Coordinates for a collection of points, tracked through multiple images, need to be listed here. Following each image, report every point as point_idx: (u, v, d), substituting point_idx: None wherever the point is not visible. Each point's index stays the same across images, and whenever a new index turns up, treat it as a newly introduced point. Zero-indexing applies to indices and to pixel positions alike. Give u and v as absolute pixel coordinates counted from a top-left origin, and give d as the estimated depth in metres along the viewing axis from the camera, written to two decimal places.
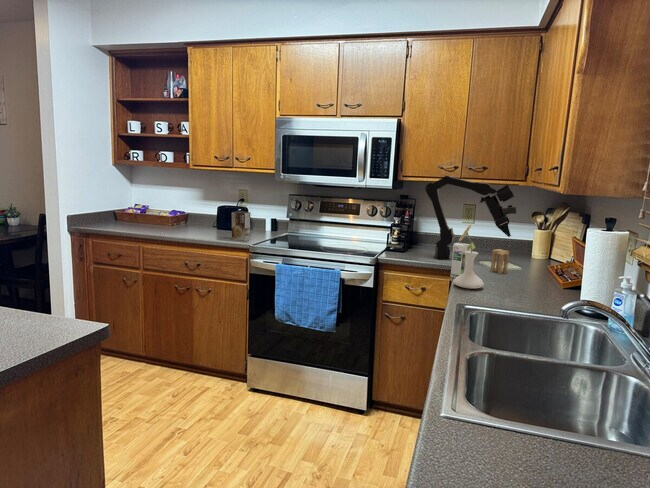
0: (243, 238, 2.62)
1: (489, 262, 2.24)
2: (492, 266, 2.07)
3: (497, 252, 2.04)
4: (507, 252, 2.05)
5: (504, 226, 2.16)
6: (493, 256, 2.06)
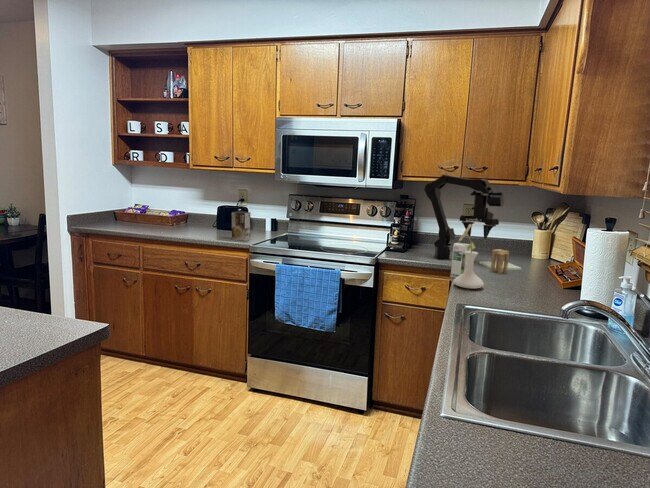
0: (243, 238, 2.62)
1: (489, 262, 2.24)
2: (492, 266, 2.07)
3: (497, 252, 2.04)
4: (507, 252, 2.05)
5: (488, 227, 2.17)
6: (493, 256, 2.06)
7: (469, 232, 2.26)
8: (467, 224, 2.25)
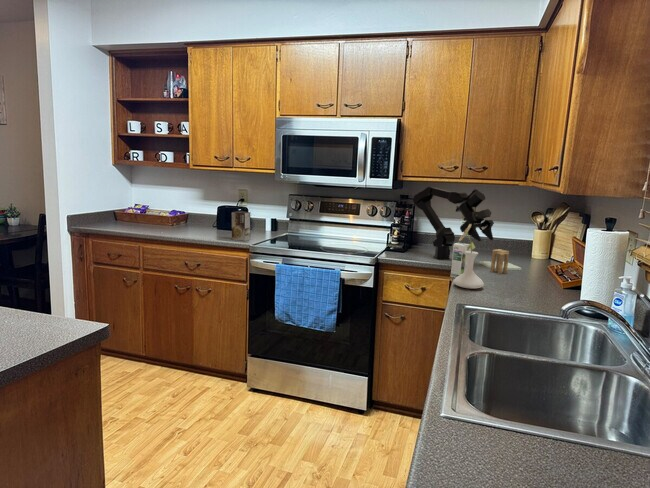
0: (243, 238, 2.62)
1: (489, 262, 2.24)
2: (492, 266, 2.07)
3: (497, 252, 2.04)
4: (507, 252, 2.05)
5: (472, 231, 2.11)
6: (493, 256, 2.06)
7: (489, 236, 2.16)
8: (483, 231, 2.19)
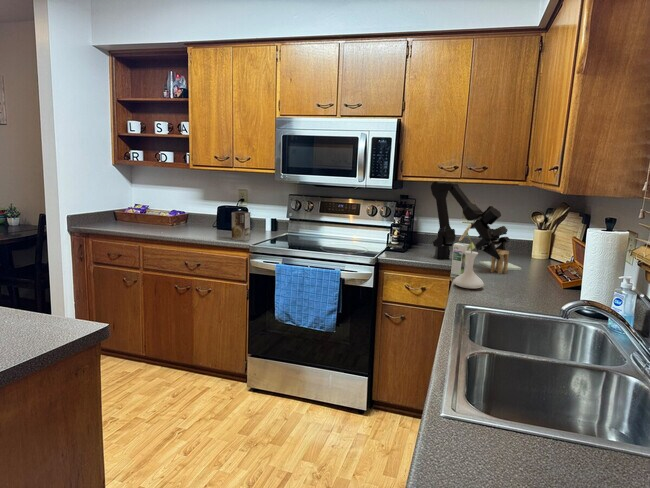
0: (243, 238, 2.62)
1: (489, 262, 2.24)
2: (492, 266, 2.07)
3: (497, 252, 2.04)
4: (507, 252, 2.05)
5: (490, 249, 2.06)
6: None
7: None
8: (497, 249, 2.11)
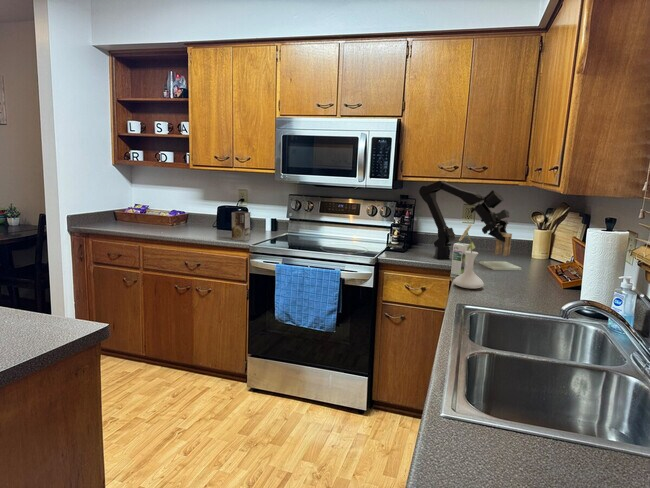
0: (243, 238, 2.62)
1: (489, 262, 2.24)
2: (497, 249, 2.13)
3: None
4: (510, 234, 2.12)
5: (496, 232, 2.11)
6: None
7: None
8: None
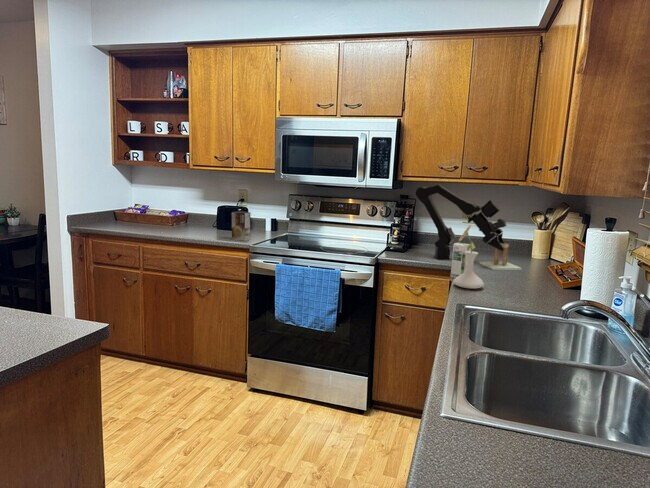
0: (243, 238, 2.62)
1: (489, 262, 2.24)
2: (495, 259, 2.18)
3: None
4: (508, 245, 2.18)
5: (494, 241, 2.15)
6: (496, 250, 2.18)
7: None
8: None
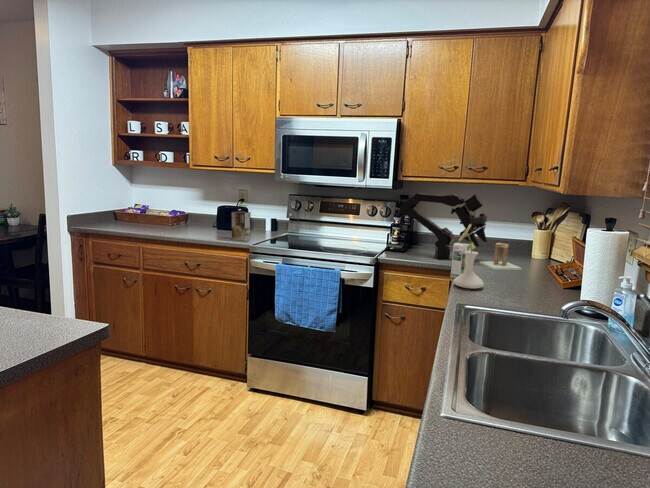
0: (243, 238, 2.62)
1: (489, 262, 2.24)
2: (495, 259, 2.18)
3: (501, 246, 2.16)
4: (508, 245, 2.18)
5: (471, 237, 2.20)
6: (496, 250, 2.18)
7: (483, 239, 2.27)
8: (477, 233, 2.29)
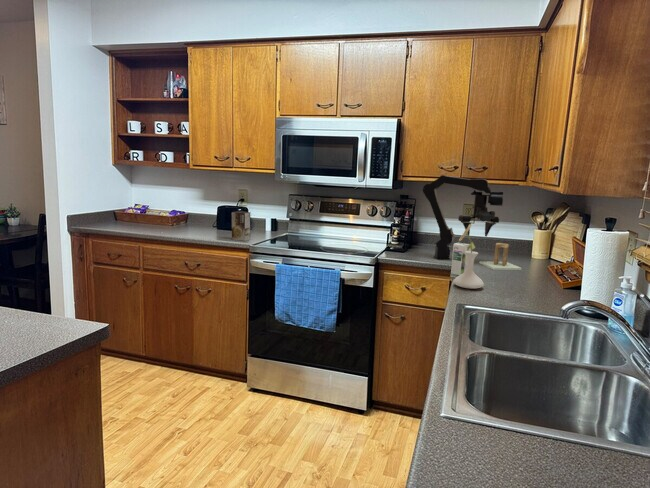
0: (243, 238, 2.62)
1: (489, 262, 2.24)
2: (495, 259, 2.18)
3: (501, 246, 2.16)
4: (508, 245, 2.18)
5: (467, 225, 2.25)
6: (496, 250, 2.18)
7: (485, 232, 2.27)
8: (486, 224, 2.28)
